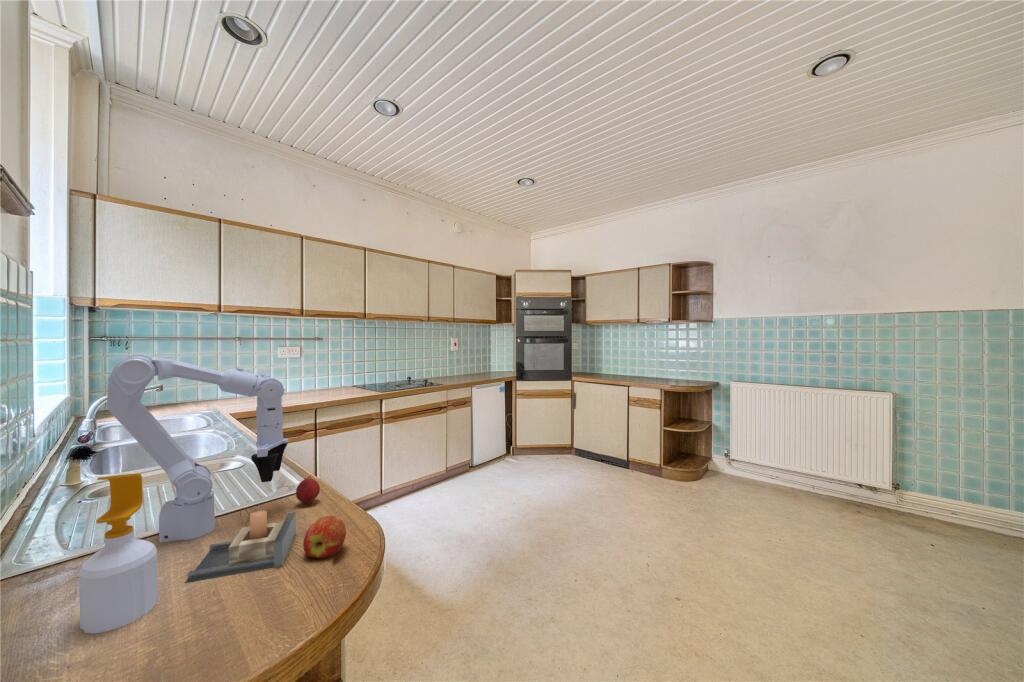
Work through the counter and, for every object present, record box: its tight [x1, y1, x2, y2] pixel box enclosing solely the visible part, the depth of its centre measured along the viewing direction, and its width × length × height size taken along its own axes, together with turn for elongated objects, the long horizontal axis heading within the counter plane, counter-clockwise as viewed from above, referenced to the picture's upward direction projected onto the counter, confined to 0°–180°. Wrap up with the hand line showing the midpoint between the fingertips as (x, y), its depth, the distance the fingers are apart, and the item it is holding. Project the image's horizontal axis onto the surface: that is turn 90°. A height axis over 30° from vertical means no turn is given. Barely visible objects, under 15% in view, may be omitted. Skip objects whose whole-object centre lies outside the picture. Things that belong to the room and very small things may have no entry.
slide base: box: [184, 512, 297, 584], centre depth 80 cm, size 16×13×6 cm
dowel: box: [249, 510, 268, 540], centre depth 81 cm, size 3×3×7 cm
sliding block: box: [229, 521, 284, 565], centre depth 81 cm, size 8×8×4 cm
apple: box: [302, 515, 347, 560], centre depth 82 cm, size 8×8×8 cm
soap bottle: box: [78, 472, 159, 635], centre depth 64 cm, size 9×9×25 cm
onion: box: [295, 474, 321, 505], centre depth 106 cm, size 6×6×8 cm
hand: (271, 475), depth 99 cm, fingers open, 7 cm apart
